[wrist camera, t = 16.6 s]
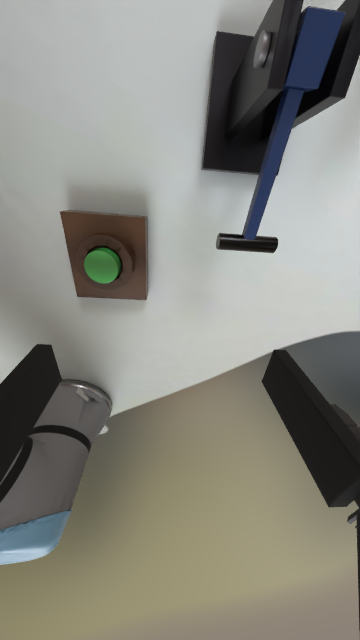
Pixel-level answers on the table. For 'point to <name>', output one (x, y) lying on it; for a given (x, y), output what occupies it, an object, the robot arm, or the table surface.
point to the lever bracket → (268, 85)
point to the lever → (288, 117)
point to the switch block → (114, 234)
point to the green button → (102, 265)
